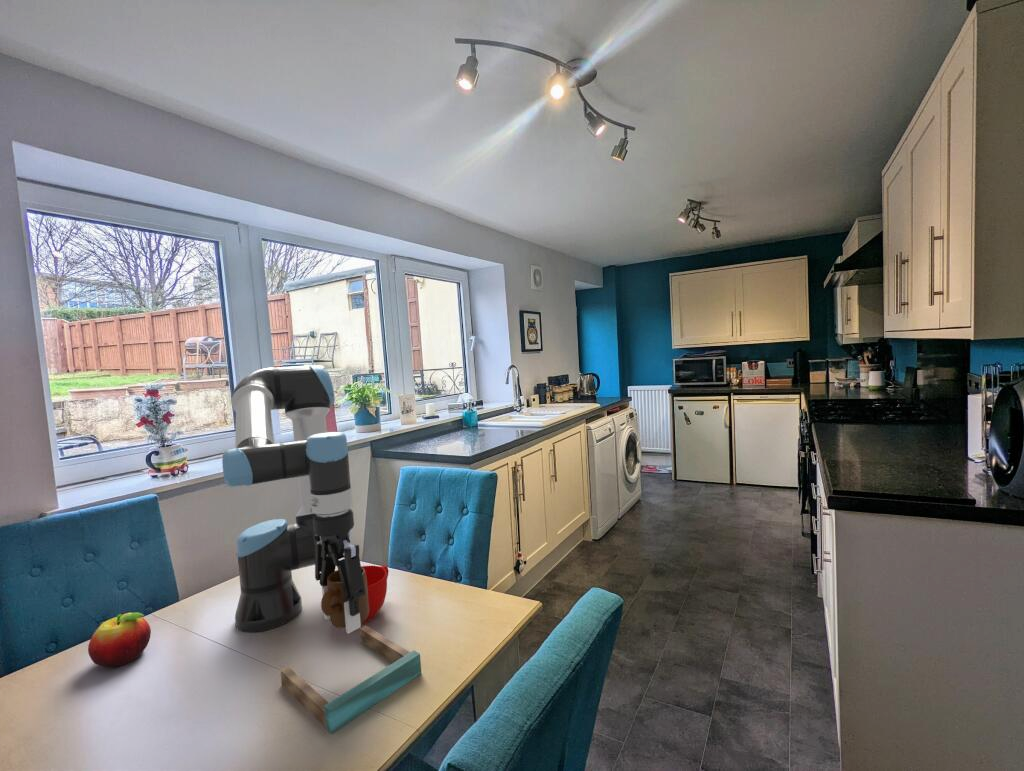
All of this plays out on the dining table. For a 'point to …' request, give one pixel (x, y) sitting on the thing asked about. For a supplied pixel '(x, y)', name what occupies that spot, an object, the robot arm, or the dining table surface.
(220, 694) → the dining table surface
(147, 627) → the fruit
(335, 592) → the mug
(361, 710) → the u-shaped wooden frame
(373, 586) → the red bowl
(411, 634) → the dining table surface
